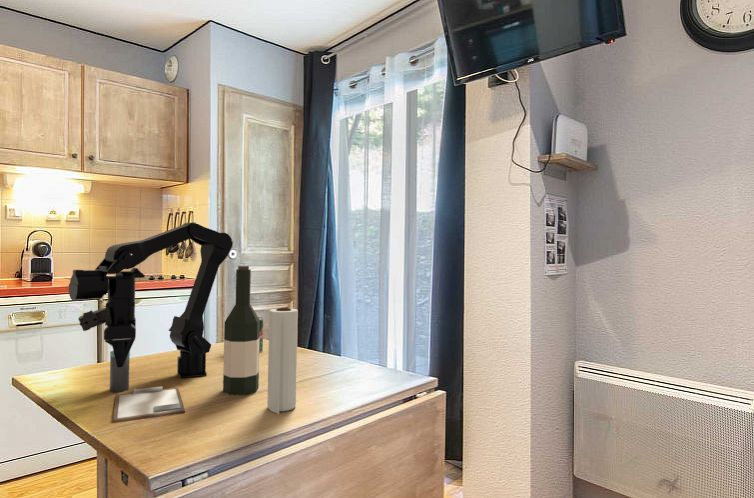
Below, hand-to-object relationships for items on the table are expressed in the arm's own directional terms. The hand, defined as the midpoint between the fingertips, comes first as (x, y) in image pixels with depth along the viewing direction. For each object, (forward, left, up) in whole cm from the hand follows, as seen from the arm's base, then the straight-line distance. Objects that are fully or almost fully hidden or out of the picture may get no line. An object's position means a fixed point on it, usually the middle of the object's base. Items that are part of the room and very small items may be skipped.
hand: (120, 362), depth 110 cm
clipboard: (-6, +14, -6) cm, 17 cm away
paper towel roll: (-31, +28, -7) cm, 42 cm away
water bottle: (0, 0, -6) cm, 6 cm away
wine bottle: (-26, +12, -7) cm, 29 cm away
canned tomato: (-37, -28, -7) cm, 47 cm away
